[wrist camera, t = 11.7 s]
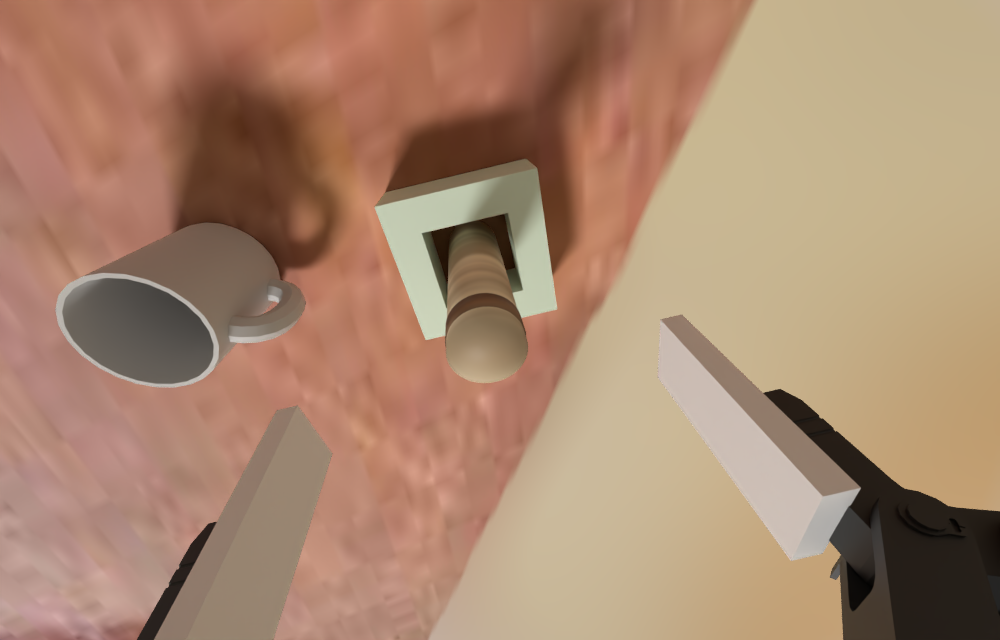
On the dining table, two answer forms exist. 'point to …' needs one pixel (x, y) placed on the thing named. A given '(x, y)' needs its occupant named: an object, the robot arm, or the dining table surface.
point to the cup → (178, 306)
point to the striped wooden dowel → (481, 308)
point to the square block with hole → (460, 202)
